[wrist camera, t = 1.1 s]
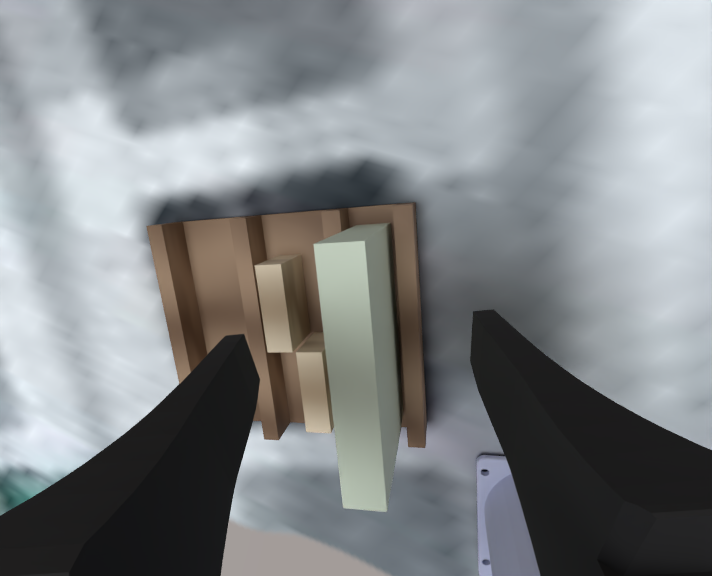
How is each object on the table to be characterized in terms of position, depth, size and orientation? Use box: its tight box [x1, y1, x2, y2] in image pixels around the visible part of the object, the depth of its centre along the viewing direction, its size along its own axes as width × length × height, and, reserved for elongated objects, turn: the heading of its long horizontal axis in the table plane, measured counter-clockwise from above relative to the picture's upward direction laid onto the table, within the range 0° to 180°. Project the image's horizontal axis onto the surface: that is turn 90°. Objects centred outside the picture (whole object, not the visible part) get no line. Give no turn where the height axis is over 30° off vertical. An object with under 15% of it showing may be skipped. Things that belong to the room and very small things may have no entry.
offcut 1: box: [255, 254, 311, 352], centre depth 23 cm, size 5×2×3 cm, turn 5°
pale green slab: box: [313, 223, 403, 512], centre depth 20 cm, size 12×2×8 cm, turn 5°
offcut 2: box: [296, 332, 334, 433], centre depth 24 cm, size 5×2×3 cm, turn 5°
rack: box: [147, 202, 427, 448], centre depth 24 cm, size 14×16×3 cm
